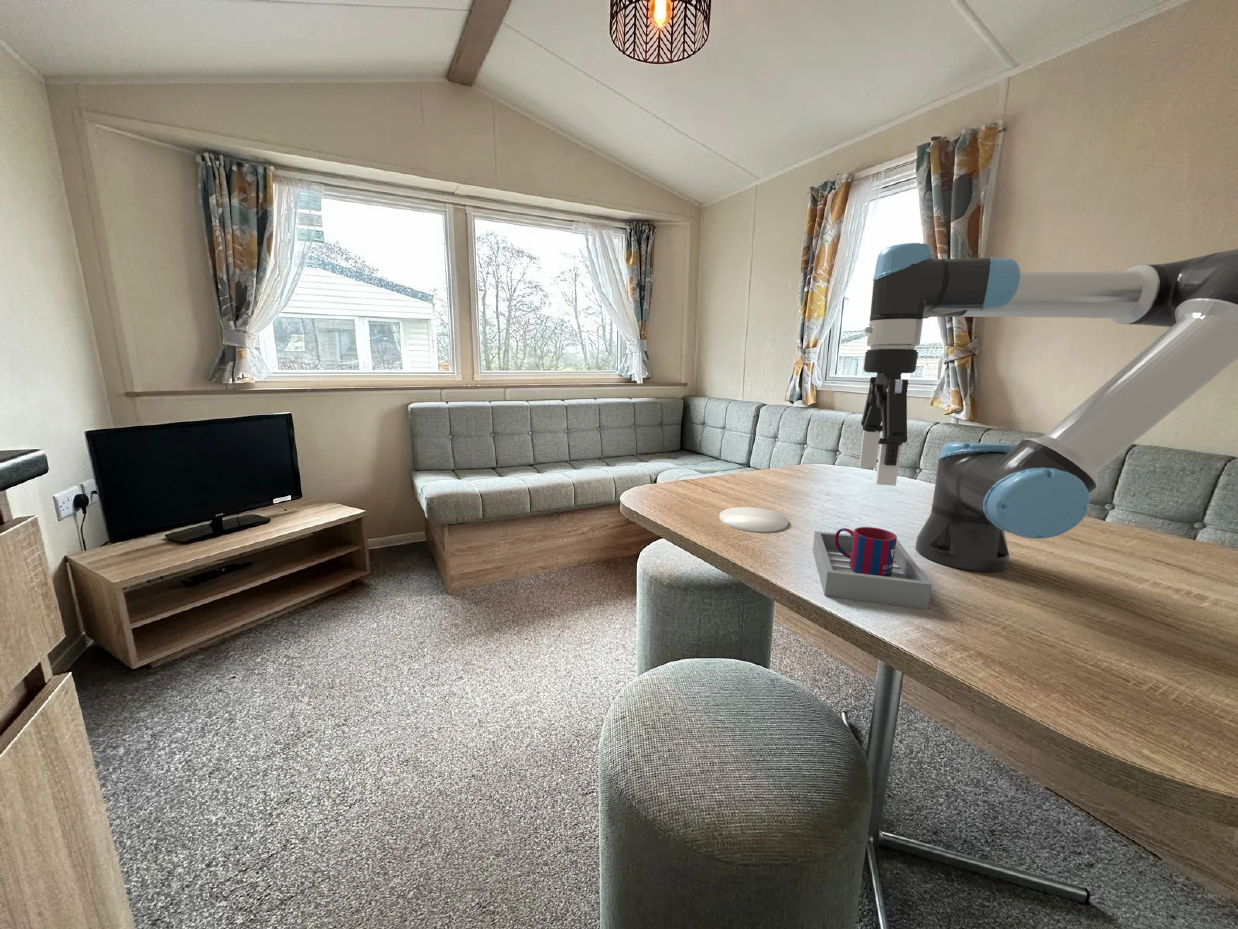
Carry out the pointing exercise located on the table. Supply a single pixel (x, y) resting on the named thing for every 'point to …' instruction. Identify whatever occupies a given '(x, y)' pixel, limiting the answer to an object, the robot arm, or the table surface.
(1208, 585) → the table surface
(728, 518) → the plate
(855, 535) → the mug
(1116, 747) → the table surface
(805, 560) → the table surface
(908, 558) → the rack
